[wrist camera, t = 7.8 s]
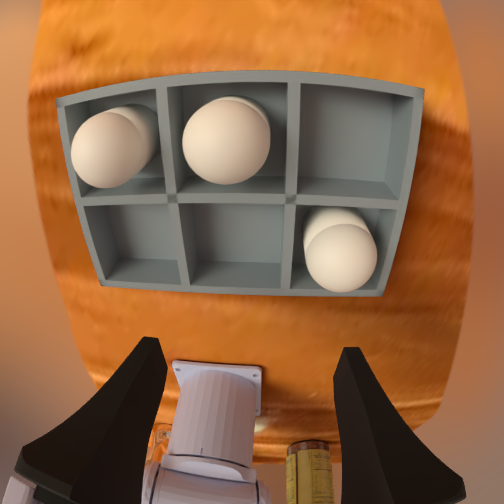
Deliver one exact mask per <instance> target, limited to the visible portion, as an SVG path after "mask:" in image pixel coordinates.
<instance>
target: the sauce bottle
mask: <svg viewBox="0 0 504 504" xmlns="http://www.w3.org/2000/svg"><path fill="white" fill-rule="evenodd" d="M286 471H287V504H335V502H334V489H333V476H332V464H331V453H330V452H329V447H328V445H327V444H326V443H324V442H322V441H316V440H310V441H304V442H297V443H294V444H292V445H291V446H289V447H288V449H287V458H286Z"/></svg>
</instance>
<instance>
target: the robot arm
mask: <svg viewBox="0 0 504 504" xmlns="http://www.w3.org/2000/svg"><path fill="white" fill-rule="evenodd" d="M172 367H173V370H174V373H175V375H176V378H177V381H178V384H179V386H180V389H181V391H180V395H179V399H178V404H177V408H176V412H175V417H174V421H173V425H172V430H171V434H170V439H169V443H168V448H167V452H166V454H163V456H162V461H161V463H160V462H158V461H153V462H152V463H151V464H149V465H147V466H146V467H145V460H146V454H147V448H148V442H149V438H150V434H151V431H152V428H153V424H154V421H155V418H156V414H157V411H158V408H159V405H160V401H161V398H162V395H163V392H164V387H165V382H166V376H167V370H168V367H167V364H166V361H165V358H164V355H163V352H162V349H161V346H160V342H159V339H158V338H153V337H145V336H144V337H143V338H142V339H141V340H140V342H139V343H138V344H137V345H136V347H135V348H134V349H133V351H132V352H131V353H130V354H129V356H128V357H127V358H126V359H125V361H124V362H123V363H122V364H121V366H120V367H119V368H118V369H117V370H116V372H115V373H114V374H113V375H112V376H111V377H110V379H109V380H108V381H107V382H106V383H105V384H104V385H103V386H102V387H101V388H100V390H99V391H98V392H97V393H96V394H95V395H94V396H93V397H92V398H91V399H90V400H89V401H88V402H87V403H86V404H85V405H83V406H82V407H81V408H80V409H79V410H78V411H77V412H75V413H74V414H73V415H72V416H70V417H69V418H68V419H67V420H65V421H64V422H63V423H61V424H60V425H58V426H57V427H55V428H54V429H53V430H51V431H50V432H48V433H47V434H45V435H43V436H42V437H40V438H38V439H36V440H34V441H33V442H31V443H29V444H27V445H25V446H23V448H22V450H21V452H20V455H19V457H18V460H17V463H16V466H15V469H14V470H15V472H16V473H18V474H20V475H21V476H23V477H24V478H26V479H28V480H30V481H31V482H33V483H35V484H36V485H37V487H36V489H34V488H32V487H31V486H29V485H27V484H25V483H24V482H22V481H20V480H18V479H17V478H15V477H13V476H11V477H10V480H9V483H8V486H7V489H6V493H5V496H4V499H3V502H2V504H271V495H270V491H269V488H268V486H267V485H266V484H265V483H264V481H263V480H262V479H257V478H256V474H257V470H255V469H252V456H253V442H254V427H255V416H259V415H260V414H261V379H262V369H261V368H260V367H258V366H241V365H224V364H211V363H199V362H188V361H178V360H175V361H173V363H172ZM333 382H334V401H335V408H336V415H337V421H338V428H339V435H340V442H341V450H342V497H341V504H455V503H457V502H460V501H462V500H464V499H465V498H466V491H465V485H464V482H463V479H462V477H460V476H459V475H458V474H456V473H455V472H454V471H453V470H451V469H450V468H449V467H448V466H446V465H445V464H444V463H443V462H442V461H441V460H440V459H438V458H437V457H436V456H435V455H434V454H433V453H432V452H431V451H430V450H429V449H428V448H427V447H426V446H425V445H424V444H423V443H422V442H421V441H420V440H419V438H418V437H417V436H416V435H415V434H414V433H413V431H412V430H411V429H410V428H409V426H408V425H407V424H406V423H405V421H404V420H403V419H402V417H401V416H400V415H399V413H398V412H397V410H396V409H395V407H394V406H393V405H392V403H391V402H390V400H389V398H388V397H387V395H386V394H385V392H384V390H383V389H382V387H381V386H380V384H379V382H378V381H377V379H376V377H375V375H374V374H373V372H372V370H371V368H370V366H369V364H368V363H367V361H366V359H365V357H364V355H363V353H362V351H361V349H360V348H359V347H344V348H343V351H342V354H341V357H340V360H339V363H338V365H337V368H336V371H335V374H334V376H333ZM144 468H145V469H144Z"/></svg>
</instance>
